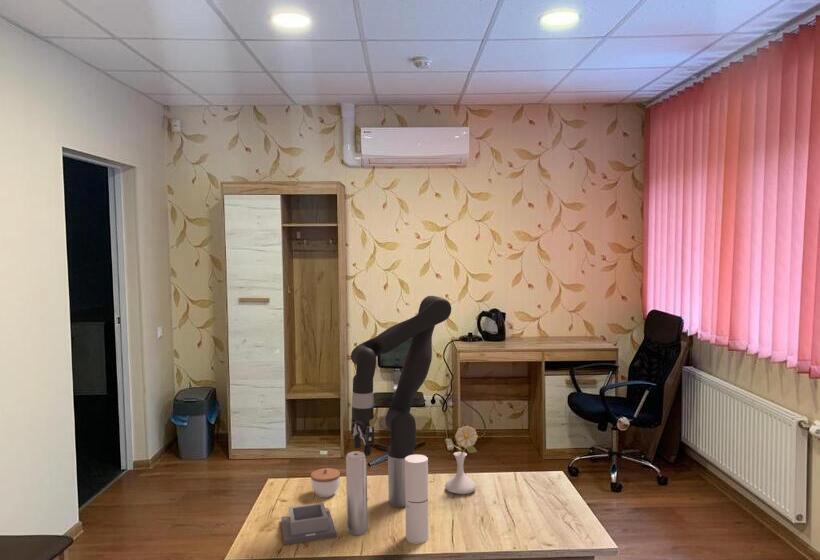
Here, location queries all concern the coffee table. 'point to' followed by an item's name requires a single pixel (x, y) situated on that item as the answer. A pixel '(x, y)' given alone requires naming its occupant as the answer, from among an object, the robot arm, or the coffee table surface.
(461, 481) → the flower in vase
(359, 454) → the silver metal cylinder
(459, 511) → the coffee table surface
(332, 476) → the lidded jar
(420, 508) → the cylindrical container
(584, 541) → the coffee table surface
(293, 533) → the socket
